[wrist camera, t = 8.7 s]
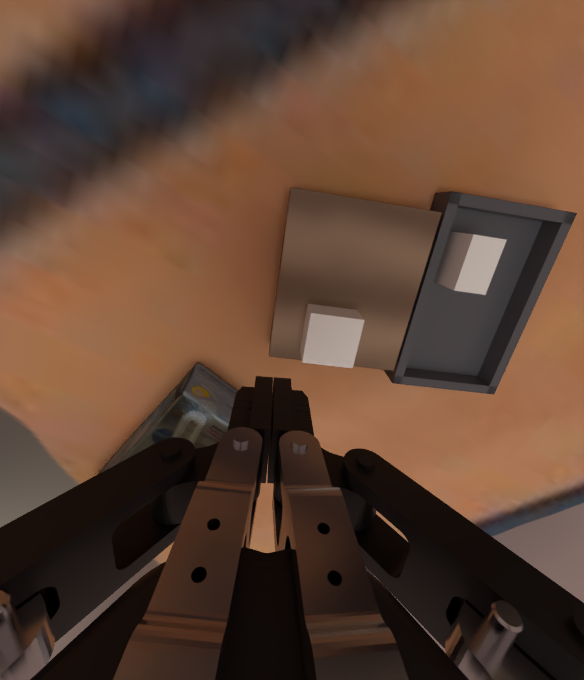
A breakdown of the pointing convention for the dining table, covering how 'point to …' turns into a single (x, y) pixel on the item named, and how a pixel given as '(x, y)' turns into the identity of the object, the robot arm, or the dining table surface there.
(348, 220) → the flat wooden board
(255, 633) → the robot arm
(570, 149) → the dining table surface
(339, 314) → the tile
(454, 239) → the tile
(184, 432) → the beverage carton
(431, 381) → the tray
